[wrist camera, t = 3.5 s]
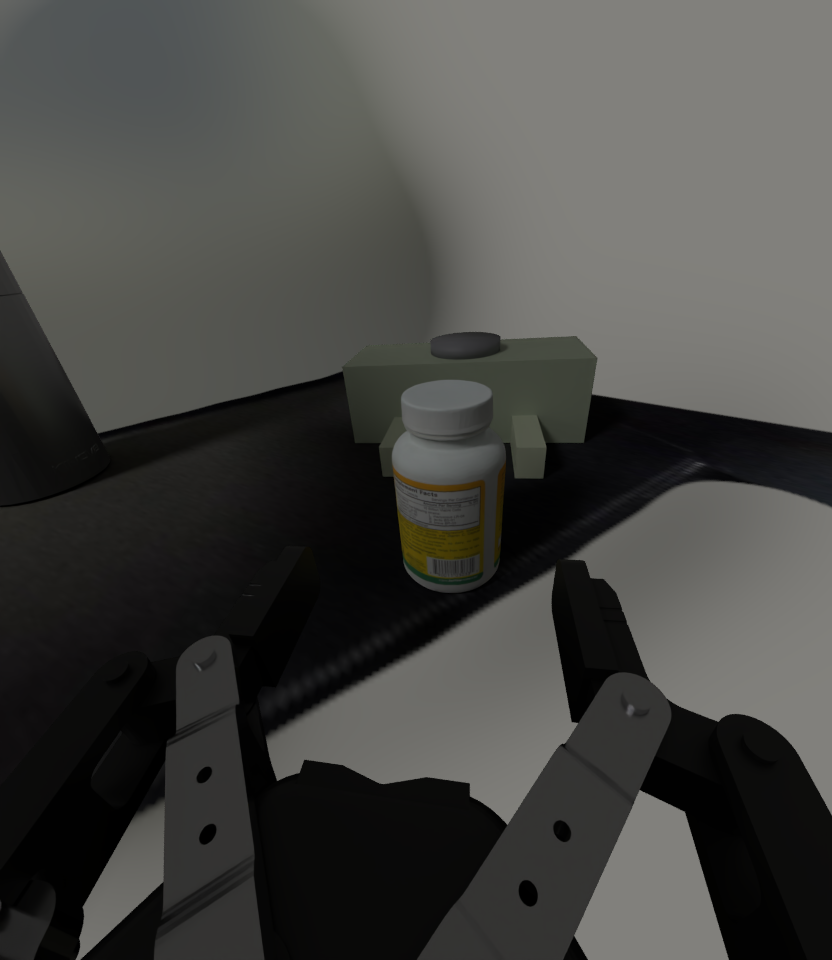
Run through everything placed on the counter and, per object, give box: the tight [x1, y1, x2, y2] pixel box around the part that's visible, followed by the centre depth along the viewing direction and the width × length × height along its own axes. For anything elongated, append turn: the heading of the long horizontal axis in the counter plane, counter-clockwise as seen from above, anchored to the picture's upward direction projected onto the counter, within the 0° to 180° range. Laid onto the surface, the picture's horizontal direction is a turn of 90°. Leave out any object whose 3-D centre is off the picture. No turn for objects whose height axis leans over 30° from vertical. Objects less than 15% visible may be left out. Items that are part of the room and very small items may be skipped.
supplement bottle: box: [392, 380, 506, 593], centre depth 19 cm, size 5×5×10 cm
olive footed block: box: [342, 332, 597, 479], centre depth 33 cm, size 20×14×8 cm
